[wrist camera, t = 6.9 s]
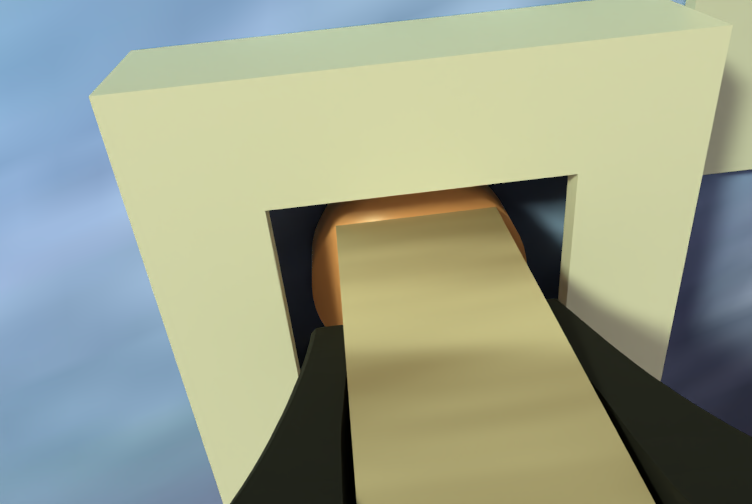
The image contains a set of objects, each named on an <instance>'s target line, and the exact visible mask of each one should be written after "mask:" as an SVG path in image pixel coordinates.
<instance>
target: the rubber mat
mask: <svg viewBox="0 0 752 504" xmlns="http://www.w3.org/2000/svg"><path fill="white" fill-rule="evenodd" d="M685 6H686V7H689V8H691V9H694V10H696V11H699V12H701V13H704V14H707V15H709V16H712V17H714V18H717V19H719V20H722V21H724V22H727V23H730V24H732V25H733V27H732V32H731V37H730V42H729V47H728V52H727V57H726V62H725V67H724V72H723V76H722V81H721V86H720V91H719V96H718V101H717V106H716V111H715V116H714V121H713V126H712V131H711V136H710V141H709V145H708V150H707V155H706V160H705V165H704V170H703V175H707V174H715V173H724V172H732V171H741V170H749V169H752V0H686V4H685Z"/></svg>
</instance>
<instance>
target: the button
mask: <svg viewBox="0 0 752 504" xmlns="http://www.w3.org/2000/svg"><path fill="white" fill-rule="evenodd" d="M490 207H496V208H497V210H498V212H499V213H500V215H501V217H502V219H503V221H504V223H505V225H506V226H507V228H508V230H509V232H510V234H511V236H512V238H513V239H514V241H515V243H516V245H517V247H518V249H519V251H520V252H521V254H522V256H523V258H524V260H525V262H526V264H527V259H526V254H525V249H524V245H523V243H522V240H521V237H520V235H519V234H518V232H517V230H516V228H515V226H514V225H513V223H512V221H511V219H510V217H509V216H508V214H507V212H506V210H505V209H504V207H503V205H502V203H501V201H500V200H499V198H498V197H497V195H496V194H495V193H494V192H493V190H492V189H491V188H490V187H489V186H488V185H480V186H472V187H463V188H455V189H446V190H438V191H429V192H421V193H412V194H404V195H395V196H387V197H378V198H370V199H361V200H353V201H344V202H336V203H329V204H328V205H327V207H326V208H325V210H324V212H323V213H322V215H321V217H320V219H319V221H318V224H317V226H316V229H315V233H314V237H313V242H312V292H313V299H314V303H315V307H316V310H317V312H318V315H319V317H320V319H321V321H322V322H323V324H324V326H325V327H328V326H336V325H343V315H342V302H341V289H340V275H339V262H338V249H337V235H336V226H339V225H347V224H356V223H364V222H372V221H381V220H389V219H398V218H406V217H415V216H423V215H431V214H440V213H448V212H457V211H465V210H473V209H482V208H490Z"/></svg>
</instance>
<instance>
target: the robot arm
mask: <svg viewBox="0 0 752 504" xmlns="http://www.w3.org/2000/svg"><path fill="white" fill-rule="evenodd" d="M546 301H547V303H548V305H549V306H550V308H551V310H552V312H553V314H554V316H555V318H556V319H557V321H558V323H559V325H560V327H561V329H562V331H563V332H564V334H565V336H566V338H567V340H568V342H569V344H570V345H571V347H572V349H573V351H574V353H575V355H576V357H577V358H578V360H579V362H580V364H581V366H582V368H583V370H584V371H585V373H586V375H587V377H588V379H589V381H590V383H591V385H592V386H593V388H594V390H595V392H596V394H597V396H598V398H599V399H600V401H601V403H602V405H603V407H604V409H605V411H606V412H607V414H608V416H609V418H610V420H611V422H612V424H613V425H614V427H615V429H616V431H617V433H618V435H619V437H620V438H621V440H622V442H623V444H624V446H625V448H626V450H627V451H628V453H629V455H630V457H631V459H632V461H633V463H634V464H635V466H636V468H637V470H638V472H639V474H640V476H641V477H642V479H643V481H644V483H645V485H646V487H647V489H648V490H649V492H650V494H651V496H652V498H653V500H654V502H655V504H752V437H750V436H749V435H747V434H745V433H743V432H741V431H739V430H738V429H736V428H734V427H732V426H730V425H728V424H727V423H725V422H723V421H722V420H720V419H718V418H717V417H715V416H713V415H712V414H710V413H708V412H707V411H705V410H703V409H702V408H700V407H698V406H697V405H695V404H693V403H692V402H690V401H689V400H687V399H686V398H684V397H682V396H681V395H679V394H678V393H676V392H675V391H673V390H672V389H671V388H669V387H668V386H666V385H665V384H663V383H662V382H660V381H659V380H658V379H656V378H655V377H653V376H652V375H650V374H649V373H648V372H646V371H645V370H644V369H642V368H641V367H640V366H638V365H637V364H635V363H634V362H633V361H632V360H630V359H629V358H628V357H626V356H625V355H624V354H623V353H621V352H620V351H619V350H617V349H616V348H615V347H614V346H612V345H611V344H610V343H609V342H608V341H606V340H605V339H604V338H603V337H601V336H600V335H599V334H598V333H597V332H595V331H594V330H593V329H592V328H591V327H589V326H588V325H587V324H586V323H585V322H584V321H582V320H581V319H580V318H579V317H578V316H576V315H575V314H574V313H573V312H572V311H570V310H569V309H568V308H567V307H566V306H565V305H563V304H562V303H561V302H560V301H559V300H557V299H556V298H554V299H546ZM230 504H357V501H356V488H355V475H354V462H353V448H352V435H351V422H350V408H349V395H348V382H347V368H346V355H345V342H344V329H343V325H336V326H328V327H320V328H316V329H315V330H314V331H313V332H312V333H311V337H310V342H309V346H308V350H307V353H306V356H305V359H304V362H303V365H302V368H301V371H300V373H299V376H298V379H297V381H296V384H295V386H294V388H293V391H292V393H291V395H290V398H289V400H288V403H287V405H286V407H285V409H284V411H283V413H282V415H281V417H280V419H279V421H278V423H277V425H276V427H275V429H274V431H273V433H272V435H271V437H270V439H269V441H268V443H267V445H266V447H265V448H264V450H263V452H262V454H261V456H260V457H259V459H258V461H257V462H256V464H255V466H254V468H253V469H252V471H251V472H250V474H249V476H248V477H247V479H246V480H245V482H244V484H243V485H242V487H241V488H240V490H239V491H238V492H237V494H236V495H235V497H234V498H233V500H232V501H231V503H230Z"/></svg>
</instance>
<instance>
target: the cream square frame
mask: <svg viewBox="0 0 752 504" xmlns="http://www.w3.org/2000/svg"><path fill="white" fill-rule="evenodd" d="M732 27H733V25H732V24H730V23H727V22H724V21H722V20H719V19H717V18H714V17H712V16H709V15H707V14H704V13H701V12H699V11H696V10H694V9H691V8H689V7H686V6H683V5H681V4H678V3H676V2H673V1H671V0H591V1H582V2H572V3H563V4H554V5H545V6H536V7H527V8H517V9H508V10H499V11H490V12H481V13H472V14H462V15H453V16H444V17H435V18H426V19H417V20H407V21H398V22H389V23H380V24H371V25H362V26H352V27H343V28H334V29H325V30H316V31H307V32H297V33H288V34H279V35H270V36H261V37H251V38H242V39H233V40H224V41H215V42H206V43H196V44H187V45H178V46H169V47H160V48H151V49H141V50H132V51H130V52H129V53H128V54H127V56H126V57H125V58H124V59H123V60H122V61H121V62H120V63H119V64H118V65H117V66H116V67H115V69H114V70H113V71H112V72H111V73H110V74H109V75H108V76H107V77H106V78H105V79H104V80H103V81H102V83H101V84H100V85H99V86H98V87H97V88H96V89H95V90H94V91H93V92H92V93H91V94H90V95H89V99H90V102H91V105H92V108H93V111H94V114H95V117H96V120H97V123H98V126H99V129H100V132H101V135H102V138H103V141H104V144H105V147H106V150H107V153H108V156H109V159H110V162H111V165H112V168H113V171H114V175H115V178H116V181H117V184H118V187H119V190H120V193H121V196H122V199H123V202H124V205H125V208H126V211H127V214H128V217H129V220H130V223H131V226H132V229H133V232H134V235H135V238H136V241H137V244H138V247H139V250H140V253H141V256H142V259H143V262H144V265H145V268H146V271H147V274H148V277H149V280H150V283H151V286H152V289H153V292H154V295H155V298H156V301H157V304H158V308H159V311H160V314H161V317H162V320H163V323H164V326H165V329H166V332H167V335H168V338H169V341H170V344H171V347H172V350H173V353H174V356H175V359H176V362H177V365H178V368H179V371H180V374H181V377H182V380H183V383H184V386H185V389H186V392H187V395H188V398H189V401H190V404H191V407H192V410H193V413H194V416H195V419H196V422H197V425H198V428H199V431H200V434H201V437H202V441H203V444H204V447H205V450H206V453H207V456H208V459H209V462H210V465H211V468H212V471H213V474H214V477H215V480H216V483H217V486H218V489H219V492H220V495H221V498H222V501H223V504H230V503H231V501H232V500H233V498H234V497H235V495H236V494H237V492H238V491H239V490H240V488H241V487H242V485H243V484H244V482H245V480H246V479H247V477H248V476H249V474H250V472H251V471H252V469H253V468H254V466H255V464H256V462H257V461H258V459H259V457H260V456H261V454H262V452H263V450H264V448H265V447H266V445H267V443H268V441H269V439H270V437H271V435H272V433H273V431H274V429H275V427H276V425H277V423H278V421H279V419H280V417H281V415H282V413H283V411H284V409H285V407H286V405H287V403H288V400H289V398H290V395H291V393H292V391H293V388H294V386H295V384H296V381H297V379H298V376H299V373H300V366H299V361H298V356H297V351H296V346H295V341H294V336H293V330H292V325H291V320H290V315H289V310H288V305H287V300H286V295H285V290H284V285H283V280H282V275H281V270H280V265H279V259H278V254H277V249H276V244H275V239H274V234H273V229H272V224H271V219H270V214H269V210H276V209H285V208H293V207H302V206H310V205H319V204H327V203H336V202H344V201H353V200H361V199H370V198H378V197H387V196H395V195H404V194H412V193H421V192H429V191H438V190H446V189H455V188H463V187H472V186H480V185H489V184H497V183H506V182H514V181H523V180H531V179H540V178H548V177H557V176H565V175H568V183H567V196H566V208H565V220H564V233H563V245H562V257H561V270H560V282H559V294H558V300H559V301H560V302H561V303H562V304H563V305H565V306H566V307H567V308H568V309H569V310H570V311H572V312H573V313H574V314H575V315H576V316H578V317H579V318H580V319H581V320H582V321H584V322H585V323H586V324H587V325H588V326H589V327H591V328H592V329H593V330H594V331H595V332H597V333H598V334H599V335H600V336H601V337H603V338H604V339H605V340H606V341H608V342H609V343H610V344H611V345H612V346H614V347H615V348H616V349H617V350H619V351H620V352H621V353H623V354H624V355H625V356H626V357H628V358H629V359H630V360H632V361H633V362H634V363H635V364H637V365H638V366H640V367H641V368H642V369H644V370H645V371H646V372H648V373H649V374H650V375H652V376H653V377H655V378H656V379H658V380H659V381H660V382H661V377H662V372H663V367H664V362H665V357H666V352H667V347H668V343H669V338H670V333H671V328H672V323H673V318H674V313H675V308H676V303H677V298H678V293H679V288H680V283H681V278H682V274H683V269H684V264H685V259H686V254H687V249H688V244H689V239H690V234H691V229H692V224H693V219H694V214H695V209H696V205H697V200H698V195H699V190H700V185H701V180H702V175H703V170H704V165H705V160H706V155H707V150H708V145H709V141H710V136H711V131H712V126H713V121H714V116H715V111H716V106H717V101H718V96H719V91H720V86H721V81H722V76H723V72H724V67H725V62H726V57H727V52H728V47H729V42H730V37H731V32H732Z"/></svg>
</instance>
